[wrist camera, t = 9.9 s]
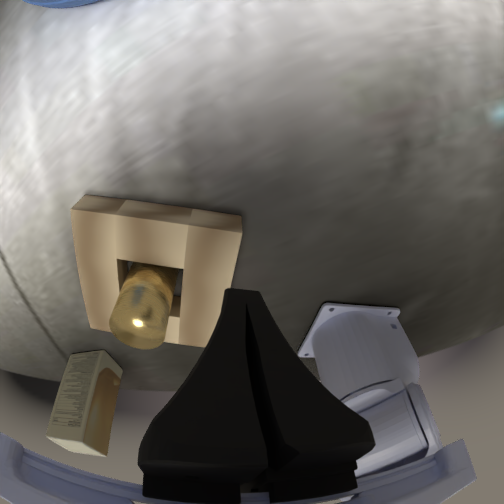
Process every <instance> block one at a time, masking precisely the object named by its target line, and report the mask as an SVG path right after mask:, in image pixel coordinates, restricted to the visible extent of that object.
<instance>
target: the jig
mask: <svg viewBox="0 0 504 504" xmlns="http://www.w3.org/2000/svg"><path fill="white" fill-rule="evenodd" d="M71 221H72V230H73V239H74V246H75V253H76V260H77V266H78V272H79V277H80V283H81V288H82V293H83V298H84V302H85V307H86V311H87V315H88V319H89V323H90V327H91V328H94V329H99V330H103V331H108V332H111V330H110V327H109V319H110V317H111V314H112V311H113V309H114V306H115V304H116V301H117V299H118V296H119V294H120V291H121V289H122V286H123V284H124V281H125V279H126V277H127V274H128V270H127V260H128V261H134V262H141V263H147V264H154V265H160V266H167V267H174V268H180V269H184V271H183V282H182V295H181V297H179V296H173V299H172V304H171V309H170V314H169V319H168V325H167V330H166V335H165V340H164V342H169V343H176V344H183V345H191V346H199V347H206V345H207V343H208V341H209V339H210V337H211V335H212V333H213V331H214V329H215V326H216V324H217V321H218V318H219V316H220V313H221V307H222V302H223V296H224V291H225V289H227V288H230V287H231V282H232V278H233V273H234V269H235V264H236V260H237V255H238V251H239V247H240V242H241V238H242V219H241V216H238V215H232V214H225V213H219V212H212V211H206V210H199V209H192V208H186V207H179V206H171V205H164V204H157V203H149V202H142V201H134V200H126V199H118V198H109V197H101V196H92V195H84V196H83V197H82V198H81V199H80V200H79V201H78V202H77V203H76V204H75V205H74V206H73V207H72V208H71Z"/></svg>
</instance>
